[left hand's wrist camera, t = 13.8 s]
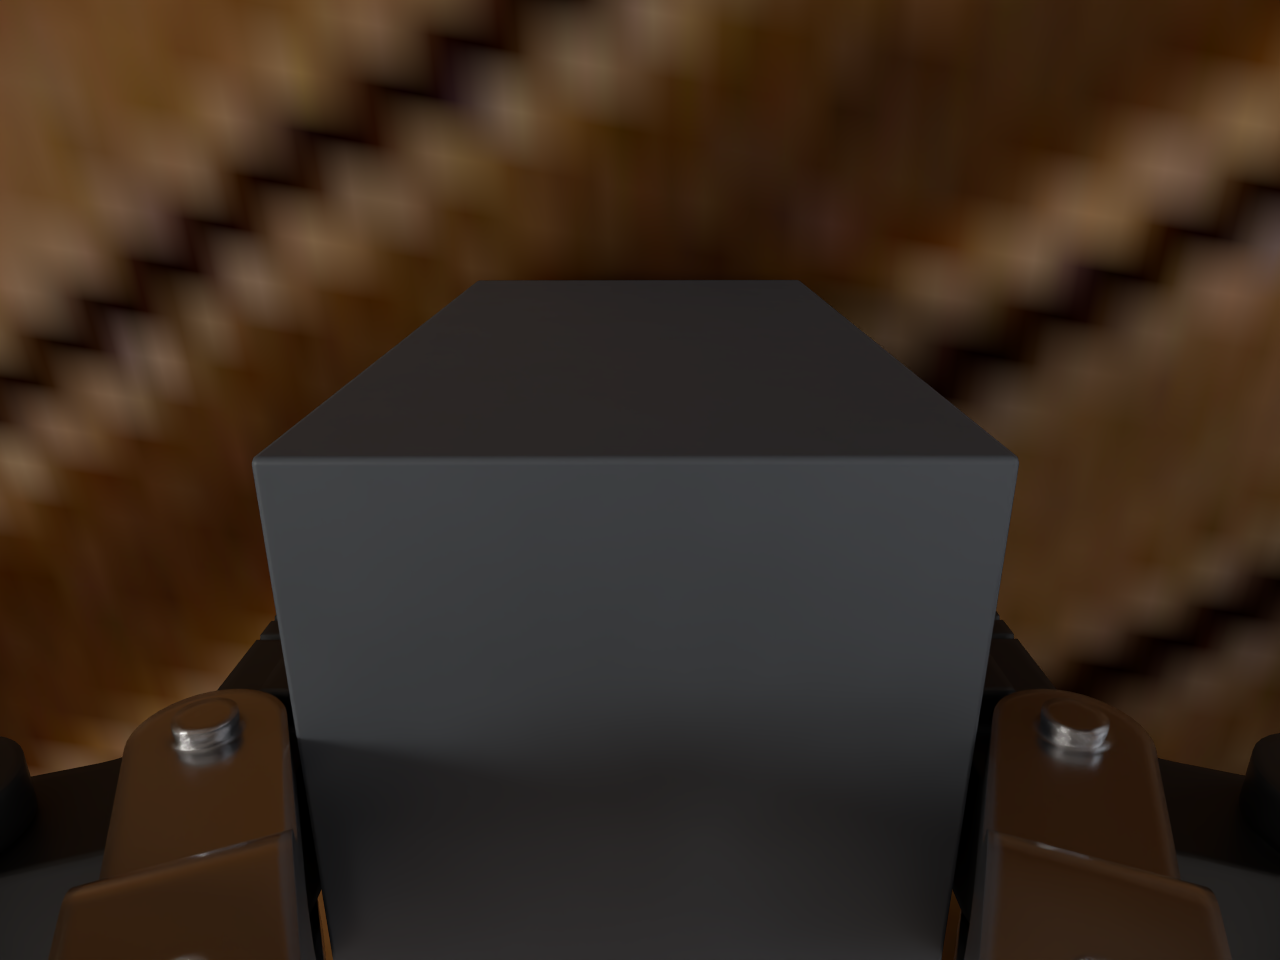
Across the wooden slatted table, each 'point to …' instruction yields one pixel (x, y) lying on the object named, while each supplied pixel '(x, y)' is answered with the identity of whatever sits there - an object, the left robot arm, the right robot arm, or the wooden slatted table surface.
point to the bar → (636, 629)
